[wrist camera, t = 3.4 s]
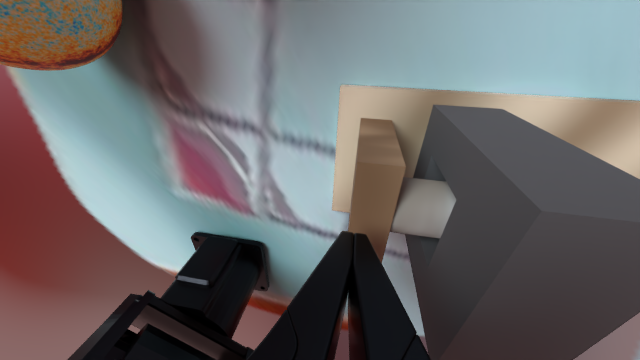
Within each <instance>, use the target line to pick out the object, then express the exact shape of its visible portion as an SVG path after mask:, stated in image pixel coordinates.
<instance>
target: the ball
mask: <svg viewBox="0 0 640 360" xmlns="http://www.w3.org/2000/svg"><path fill="white" fill-rule="evenodd" d="M121 24H122V1H121V0H0V64H2V65H6V66H11V67H17V68H23V69H31V70H65V69H71V68H76V67H80V66H83V65H86V64H89V63H91V62H93V61H95V60H97V59H98V58H100V57H101V56H103V55H104V54H105V53H106V52H107V51H108V50H109V49H110V48H111V47H112V45H113V44H114V42H115V41H116V39H117V37H118V35H119V32H120V29H121Z"/></svg>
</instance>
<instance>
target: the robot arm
mask: <svg viewBox="0 0 640 360" xmlns="http://www.w3.org/2000/svg"><path fill="white" fill-rule="evenodd" d="M191 240H192V242H193V245H194V247H195V250H196V251H195V253H194V254H193V255H192V256H191V258H190V259H189V260H188V261H187V263H186V264H185V265H184V266H183V268H182V269H181V270H180V271H179V272H178V274H177V275H176V277H175V278H176V279H175V281H174V282H173V283H172V285H171V286H170V287H169V288H168V289H167V291H166V292H165V293H164V294H163V296H162V297H161V298H158V297H156V296H155V293H153V292H151V291H149V290H148V291H147V292H146V293H145V295H144V296H142V295H135V294H130V295H129V296H128V297H127V298H126V299H125V300H124V301H123V303H122V304H121V305H120V306H119V307H118V308H117V309H116V310H115V311H114V312H113V313H112V314H111V315H110V317H109V318H108V319H107V320H106V321H105V322H104V323H103V324H102V325H101V326H100V327H99V328H98V329H97V330H96V331H95V332H94V333H93V334H92V335H91V336H90V337H89V338H88V339H87V340H86V341H85V342H84V343H83V344H82V345H81V346H80V347H79V349H77V350H76V352H75V353H74V354H73V355H72V356H71V357H70V358H69V359H68V360H334V359H335V354H336V349H337V344H338V340H339V335H340V330H341V326H342V321H343V316H344V311H345V307H346V302H347V296H348V329H349V360H431V359H430V357H429V355H428V354H427V351H426V349H425V347H424V346H423V343H422V342H421V340H420V338H419V336H418V335H416V333H417V332H416V330H415V328H414V326H413V324H412V322H411V320H410V318H409V316H408V314H407V312H406V311H405V309H404V307H403V305H402V303H401V301H400V299H399V297H398V295H397V293H396V291H395V289H394V287H393V285H392V283H391V281H390V279H389V277H388V275H387V273H386V271H385V269H384V268H383V266H382V264H381V262H380V260H379V258H378V256H377V254H376V252H375V250H374V248H373V246H372V244H371V242H370V240H369V238H368V236H367V235H366V234H363V233H355V234H354V233H353V232H348V231H342V232H341V233H340V234H339V236H338V237H337V239H336V240H335V241H334V243H333V244H332V246H331V247H330V248H329V250H328V251H327V253H326V254H325V255H324V257H323V258H322V260H321V261H320V262H319V264H318V265H317V267H316V268H315V270H314V271H313V272H312V274H311V275H310V277H309V278H308V279H307V281H306V282H305V284H304V285H303V286H302V288H301V289H300V291H299V292H298V293H297V295H296V296H295V298H294V299H293V300H292V302H291V303H290V305H289V306H288V307H287V310H285V311H284V313H283V314H282V316H281V317H280V318H279V320H278V321H277V323H276V324H275V325H274V326H273V328H272V329H271V330H270V332H269V333H268V334H267V336H266V337H265V338H264V340H263V341H262V342H261V343H260V344H259V346H258V347H257V348H256V349H255V350H253V349H251V348H249V347H244V346H242V345H241V344H239V343H237V342H235V341H234V340H232V337H233V335H234V332H235V330H236V328H237V326H238V324H239V321H240V319H241V317H242V315H243V313H244V311H245V308H246V306H247V304H248V302H249V299H250V297H251V295H252V293H253V291H254V289H255V290H260V291H267V290H268V287H269V282H268V275H267V269H266V262H265V256H264V249H263V245H262V244H261V243H260V242H257V241H251V240H244V239H238V238H232V237H225V236H219V235H212V234H206V233H199V232H195V233H194V234H193V235H192V236H191ZM130 325H133V326H135V327H137V328H139V329H141V330H140V332H138V334H136V333H134V332H132V331H130V330H128V328H129V326H130Z"/></svg>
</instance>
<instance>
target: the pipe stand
mask: <svg viewBox="0 0 640 360" xmlns="http://www.w3.org/2000/svg"><path fill="white" fill-rule="evenodd" d="M433 105H449V106H465V107H481V108H497V109H504V110H506V111H508V112H510V113H512V114H513V115H515V116H517V117H519V118H521V119H523V120H525V121H527V122H529V123H531V124H533V125H535V126H537V127H539V128H541V129H543V130H545V131H547V132H549V133H551V134H553V135H554V136H556V137H558V138H560V139H562V140H564V141H566V142H568V143H570V144H572V145H574V146H576V147H578V148H580V149H582V150H584V151H586V152H588V153H590V154H592V155H593V156H595V157H597V158H599V159H601V160H603V161H605V162H607V163H609V164H611V165H613V166H615V167H617V168H619V169H621V170H623V171H625V172H627V173H629V174H631V175H632V176H634V177H636V178H638V179H640V101H633V100H615V99H596V98H578V97H560V96H542V95H523V94H505V93H487V92H469V91H451V90H432V89H414V88H396V87H378V86H359V85H341V86H340V97H339V112H338V127H337V143H336V158H335V173H334V188H333V203H332V210H333V211H341V212H349V213H350V216H349V226H348V232H353V233H354V234H355V233H363V234H366V235H367V236H368V238H369V240H370V242H371V244H372V246H373V248H374V250H375V252H376V254H377V256H378V258H379V260H380V262H381V263H382V259H383V256H384V252H385V248H386V244H387V240H388V236H389V232H396V233H403V234H411V235H418V236H425V237H432V238H441V235H442V233H443V230H444V228H445V226H446V223H447V221H448V219H449V216H450V214H451V212H452V209H453V207H454V204H455V202H456V198H455V196H454V194H453V193H452V191H451V189H450V187H449V185H448V184H447V182H445V181H436V180H426V179H417V178H413V176H414V172H415V168H416V165H417V161H418V158H419V154H420V150H421V147H422V143H423V140H424V136H425V133H426V129H427V125H428V122H429V118H430V115H431V111H432V107H433Z"/></svg>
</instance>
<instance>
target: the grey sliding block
mask: <svg viewBox="0 0 640 360" xmlns="http://www.w3.org/2000/svg"><path fill="white" fill-rule="evenodd" d="M413 178H417V179H426V180H436V181H445V182H447V184H448V185H449V187H450V189H451V191H452V193H453V194H454V196H455V198H456V202H455V204H454V207H453V209H452V212H451V214H450V216H449V219H448V221H447V223H446V226H445V228H444V230H443V233H442V235H441V238H432V237H425V236H418V235H411V234H405V236H406V241H407V246H408V251H409V256H410V261H411V267H412V272H413V277H414V282H415V287H416V292H417V297H418V302H419V307H420V313H421V318H422V323H423V328H424V333H425V338H426V343H427V348H428V353H429V357H430V359H431V360H573V359H575V358H576V357H578V356H579V355H580V354H582V353H583V352H585V351H586V350H587V349H589V348H590V347H592V346H593V345H594V344H596V343H597V342H599V341H600V340H601V339H603V338H604V337H606V336H607V335H608V334H610V333H611V332H613V331H614V330H615V329H617V328H618V327H620V326H621V325H622V324H624V323H625V322H627V321H628V320H629V319H631V318H632V317H634V316H635V315H637V314H638V313H639V312H640V179H638V178H636V177H634V176H632V175H631V174H629V173H627V172H625V171H623V170H621V169H619V168H617V167H615V166H613V165H611V164H609V163H607V162H605V161H603V160H601V159H599V158H597V157H595V156H593V155H592V154H590V153H588V152H586V151H584V150H582V149H580V148H578V147H576V146H574V145H572V144H570V143H568V142H566V141H564V140H562V139H560V138H558V137H556V136H554V135H553V134H551V133H549V132H547V131H545V130H543V129H541V128H539V127H537V126H535V125H533V124H531V123H529V122H527V121H525V120H523V119H521V118H519V117H517V116H515V115H513V114H512V113H510V112H508V111H506V110H504V109H497V108H481V107H465V106H449V105H433V107H432V111H431V115H430V118H429V122H428V125H427V129H426V133H425V136H424V140H423V143H422V147H421V150H420V154H419V158H418V161H417V165H416V168H415V172H414V176H413Z"/></svg>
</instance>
